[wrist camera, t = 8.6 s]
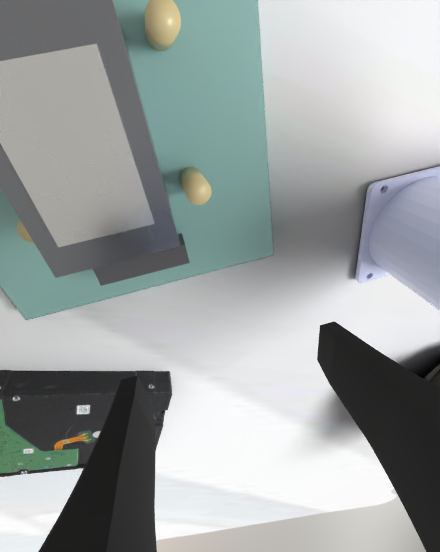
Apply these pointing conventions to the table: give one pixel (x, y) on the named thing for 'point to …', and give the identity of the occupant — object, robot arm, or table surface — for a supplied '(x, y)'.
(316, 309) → the table surface
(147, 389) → the disk drive
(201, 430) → the table surface
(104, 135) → the dark grey block
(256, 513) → the table surface
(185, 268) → the teal peg board
